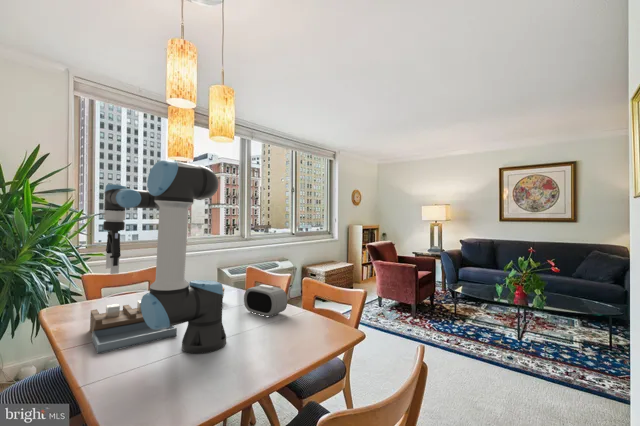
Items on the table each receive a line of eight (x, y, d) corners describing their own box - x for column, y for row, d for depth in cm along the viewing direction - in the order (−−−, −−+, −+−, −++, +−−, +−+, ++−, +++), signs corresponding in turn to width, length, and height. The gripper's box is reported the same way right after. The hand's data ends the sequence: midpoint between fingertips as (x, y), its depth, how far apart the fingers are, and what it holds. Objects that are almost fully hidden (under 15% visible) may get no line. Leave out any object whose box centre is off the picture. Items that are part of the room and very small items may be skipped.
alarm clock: (242, 311, 150) (243, 284, 150) (256, 307, 158) (257, 281, 158) (273, 320, 139) (274, 291, 139) (287, 315, 147) (287, 287, 147)
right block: (150, 310, 128) (150, 301, 128) (139, 312, 126) (139, 303, 126) (147, 308, 131) (147, 299, 131) (137, 310, 129) (137, 301, 129)
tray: (176, 335, 118) (176, 328, 118) (97, 353, 101) (97, 344, 101) (164, 324, 129) (164, 317, 129) (91, 339, 112) (92, 331, 112)
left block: (119, 316, 121) (119, 306, 121) (107, 318, 118) (107, 307, 118) (117, 313, 124) (117, 303, 124) (105, 315, 121) (106, 305, 121)
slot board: (165, 327, 126) (166, 308, 126) (94, 342, 110) (95, 320, 110) (155, 318, 137) (156, 300, 137) (89, 330, 121) (90, 310, 121)
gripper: (99, 219, 135) (97, 266, 135) (107, 222, 116) (105, 277, 116) (119, 219, 140) (117, 265, 140) (130, 222, 121) (127, 275, 121)
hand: (111, 270), depth 128 cm, fingers open, 13 cm apart
